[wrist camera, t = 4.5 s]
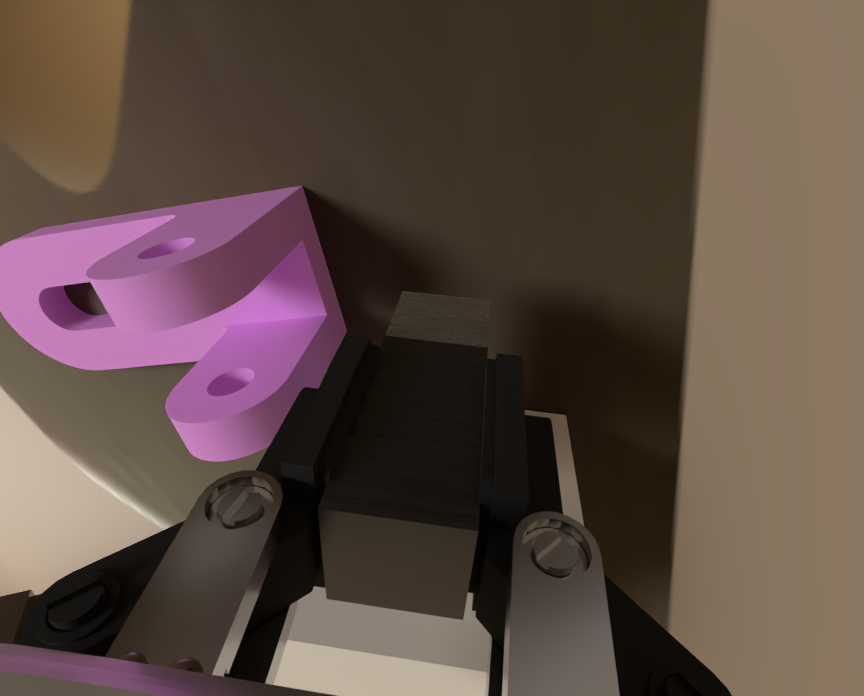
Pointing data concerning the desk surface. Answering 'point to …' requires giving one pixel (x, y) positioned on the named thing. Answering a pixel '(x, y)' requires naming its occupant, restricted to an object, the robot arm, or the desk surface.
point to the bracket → (189, 308)
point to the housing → (400, 633)
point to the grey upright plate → (412, 465)
